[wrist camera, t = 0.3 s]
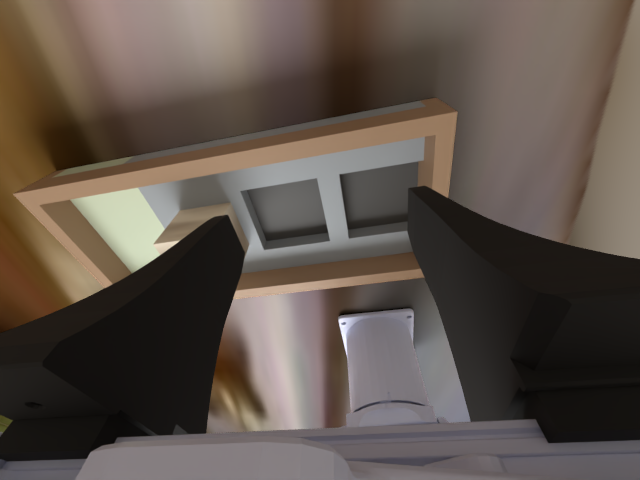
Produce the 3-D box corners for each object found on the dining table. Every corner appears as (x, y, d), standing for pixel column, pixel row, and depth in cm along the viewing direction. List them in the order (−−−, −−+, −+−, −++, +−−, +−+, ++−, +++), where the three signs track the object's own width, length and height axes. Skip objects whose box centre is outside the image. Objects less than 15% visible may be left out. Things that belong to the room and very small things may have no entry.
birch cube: (249, 244, 22) (236, 280, 19) (203, 251, 23) (183, 287, 20) (230, 202, 20) (212, 235, 17) (179, 210, 20) (153, 244, 17)
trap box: (426, 247, 24) (439, 275, 21) (147, 282, 27) (127, 311, 25) (435, 97, 17) (457, 111, 14) (55, 171, 20) (12, 194, 17)
